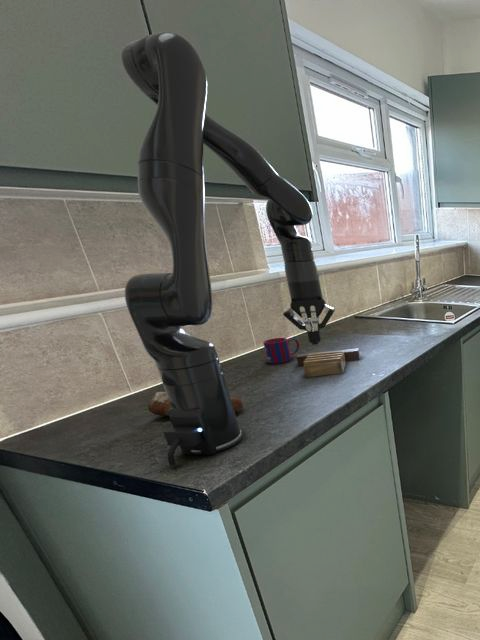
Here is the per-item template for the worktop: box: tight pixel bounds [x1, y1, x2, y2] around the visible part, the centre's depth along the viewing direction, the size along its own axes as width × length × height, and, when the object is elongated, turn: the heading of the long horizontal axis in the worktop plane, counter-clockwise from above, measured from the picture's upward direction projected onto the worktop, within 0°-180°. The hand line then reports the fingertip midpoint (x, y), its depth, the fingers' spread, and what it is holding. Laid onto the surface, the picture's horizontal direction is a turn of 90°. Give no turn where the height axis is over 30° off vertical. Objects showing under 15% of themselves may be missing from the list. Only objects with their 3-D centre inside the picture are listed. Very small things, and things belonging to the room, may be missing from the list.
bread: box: [147, 391, 244, 417], centre depth 96 cm, size 6×19×6 cm, turn 90°
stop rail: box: [296, 347, 361, 367], centre depth 131 cm, size 3×18×3 cm, turn 106°
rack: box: [303, 350, 347, 378], centre depth 123 cm, size 10×10×4 cm
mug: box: [263, 337, 300, 365], centre depth 134 cm, size 7×10×7 cm
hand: (316, 343), depth 114 cm, fingers closed
